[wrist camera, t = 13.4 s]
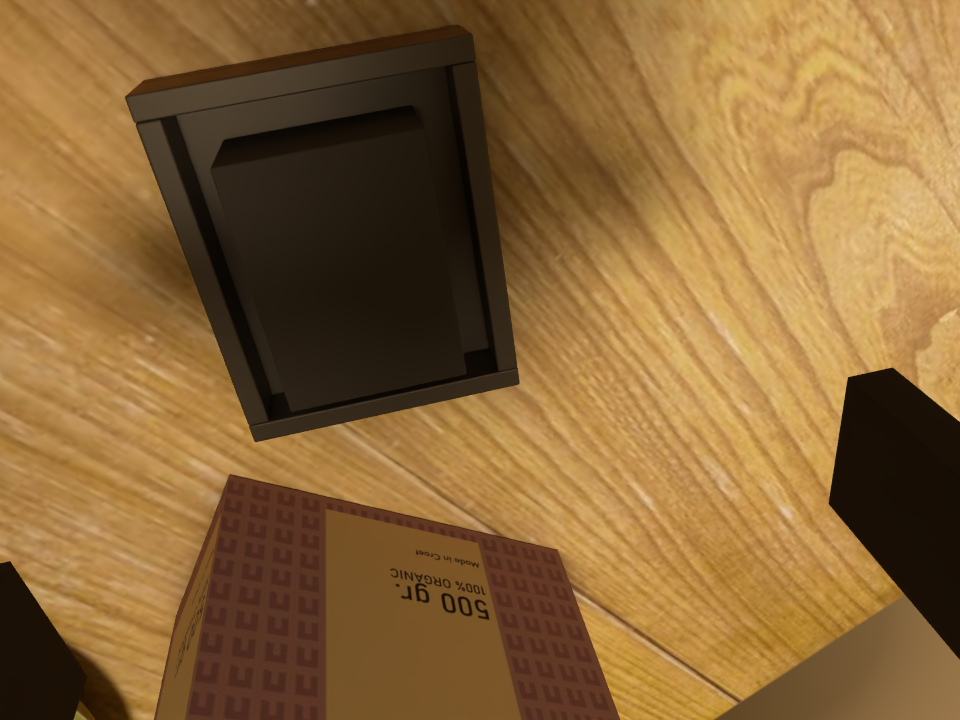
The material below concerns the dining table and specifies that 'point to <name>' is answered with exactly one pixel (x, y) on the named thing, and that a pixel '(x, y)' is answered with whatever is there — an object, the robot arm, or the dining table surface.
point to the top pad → (343, 254)
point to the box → (373, 620)
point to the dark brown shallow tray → (316, 98)
